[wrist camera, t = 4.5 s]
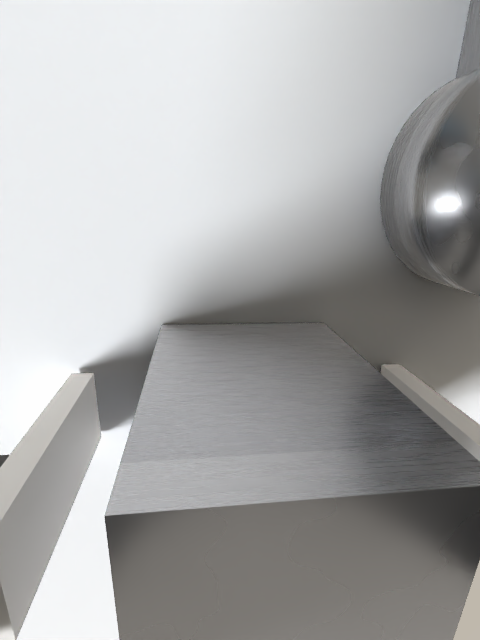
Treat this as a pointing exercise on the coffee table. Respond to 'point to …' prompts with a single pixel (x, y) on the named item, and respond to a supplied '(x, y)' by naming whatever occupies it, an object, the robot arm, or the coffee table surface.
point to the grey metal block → (286, 496)
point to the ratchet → (440, 178)
